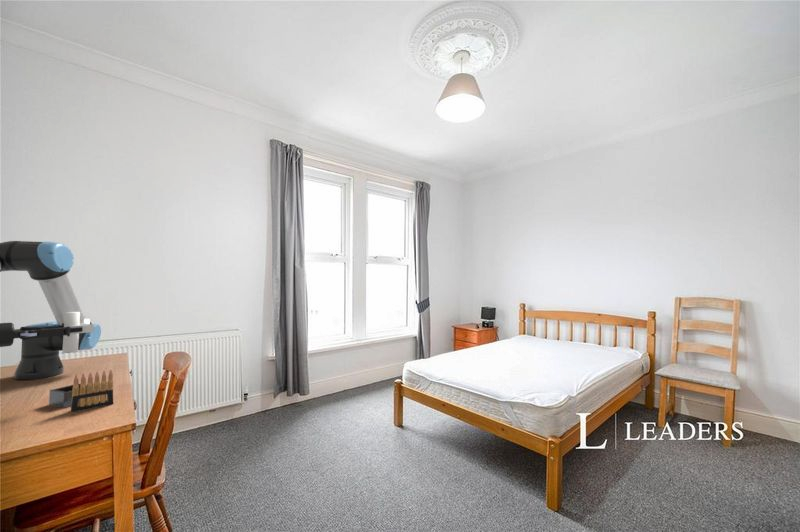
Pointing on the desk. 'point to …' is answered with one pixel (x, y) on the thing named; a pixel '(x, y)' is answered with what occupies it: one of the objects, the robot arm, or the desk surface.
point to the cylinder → (71, 341)
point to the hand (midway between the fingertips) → (91, 327)
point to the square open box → (62, 396)
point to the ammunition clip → (92, 392)
